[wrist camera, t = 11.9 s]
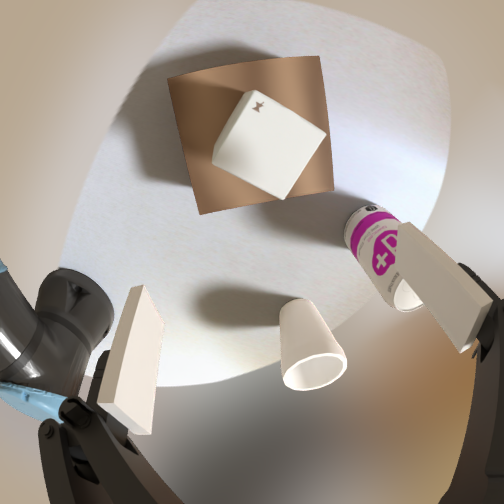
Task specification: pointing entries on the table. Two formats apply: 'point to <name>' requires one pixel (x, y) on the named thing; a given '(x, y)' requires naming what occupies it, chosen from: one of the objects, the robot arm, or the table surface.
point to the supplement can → (380, 254)
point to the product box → (266, 144)
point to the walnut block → (222, 106)
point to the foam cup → (308, 347)
